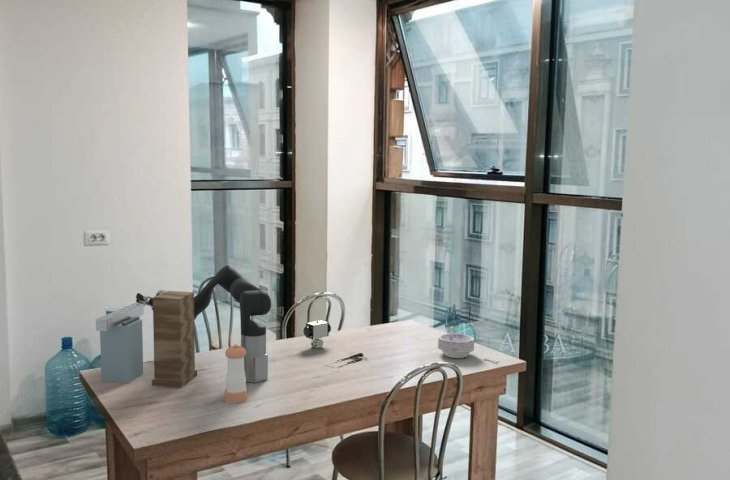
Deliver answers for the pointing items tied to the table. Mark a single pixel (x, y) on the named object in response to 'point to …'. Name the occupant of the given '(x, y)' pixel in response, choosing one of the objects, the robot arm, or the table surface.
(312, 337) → the pneumatic valve
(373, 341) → the table surface
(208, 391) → the table surface
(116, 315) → the steel bar
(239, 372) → the pepper shaker
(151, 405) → the table surface
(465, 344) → the grey stone bowl
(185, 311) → the tall stand
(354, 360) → the hacksaw
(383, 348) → the table surface
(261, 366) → the robot arm
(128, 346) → the blue grey angular block
